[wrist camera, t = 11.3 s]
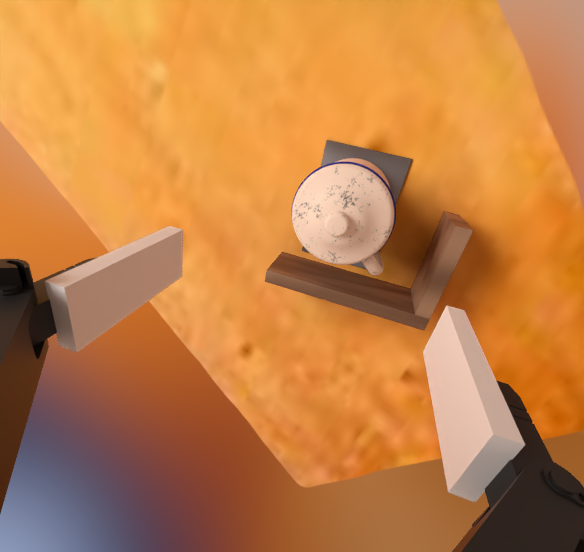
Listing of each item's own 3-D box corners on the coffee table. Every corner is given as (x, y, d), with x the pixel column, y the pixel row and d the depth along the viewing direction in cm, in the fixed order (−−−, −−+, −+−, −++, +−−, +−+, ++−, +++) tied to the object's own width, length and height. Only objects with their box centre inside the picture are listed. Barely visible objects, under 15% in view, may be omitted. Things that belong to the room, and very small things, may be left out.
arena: (304, 134, 33) (290, 134, 28) (477, 174, 30) (497, 182, 25) (280, 262, 40) (264, 281, 35) (418, 303, 38) (424, 330, 32)
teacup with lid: (296, 182, 35) (261, 202, 25) (370, 137, 31) (363, 139, 21) (345, 269, 38) (331, 319, 28) (418, 238, 34) (432, 282, 24)
